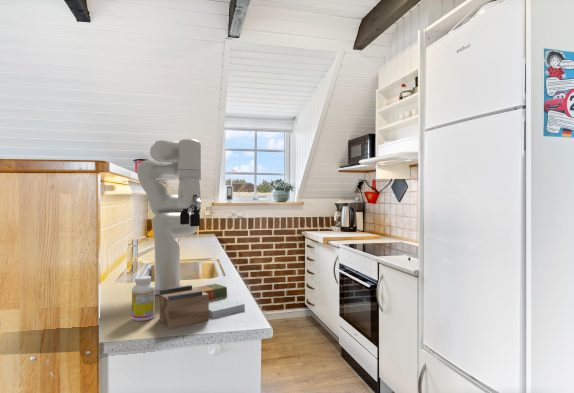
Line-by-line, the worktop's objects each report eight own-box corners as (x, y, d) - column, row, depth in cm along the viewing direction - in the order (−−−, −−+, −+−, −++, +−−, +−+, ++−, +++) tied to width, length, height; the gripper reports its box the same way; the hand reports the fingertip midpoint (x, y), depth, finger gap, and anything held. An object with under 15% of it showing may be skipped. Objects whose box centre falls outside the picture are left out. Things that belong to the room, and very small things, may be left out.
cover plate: (203, 314, 117) (203, 306, 117) (234, 306, 124) (234, 299, 124) (212, 319, 112) (212, 311, 112) (244, 311, 119) (244, 303, 119)
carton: (177, 301, 131) (177, 289, 131) (215, 293, 141) (215, 282, 141) (188, 306, 124) (188, 294, 124) (227, 297, 135) (227, 286, 135)
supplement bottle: (136, 314, 115) (136, 275, 115) (157, 314, 115) (157, 274, 115) (128, 322, 108) (128, 280, 108) (151, 321, 109) (151, 279, 109)
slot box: (159, 319, 111) (159, 289, 111) (196, 311, 118) (196, 283, 118) (169, 328, 103) (169, 297, 103) (208, 320, 110) (208, 290, 110)
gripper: (170, 176, 127) (170, 224, 127) (188, 174, 113) (188, 227, 113) (191, 177, 132) (191, 223, 132) (210, 174, 118) (210, 226, 118)
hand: (189, 225), depth 122 cm, fingers open, 9 cm apart
